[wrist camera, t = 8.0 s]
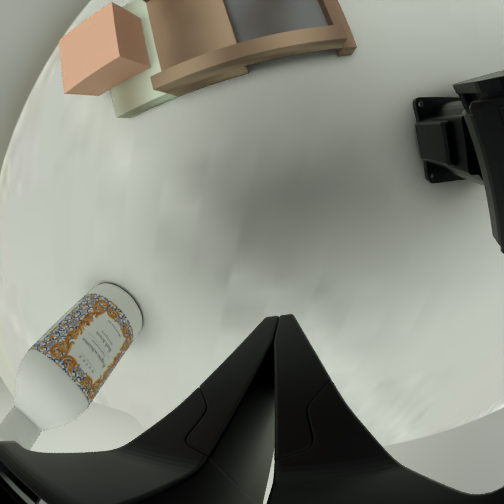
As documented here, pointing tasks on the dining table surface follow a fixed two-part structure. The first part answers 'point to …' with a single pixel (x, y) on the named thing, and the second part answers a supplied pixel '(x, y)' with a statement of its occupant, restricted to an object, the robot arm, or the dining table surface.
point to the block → (103, 52)
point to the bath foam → (71, 363)
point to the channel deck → (222, 43)
